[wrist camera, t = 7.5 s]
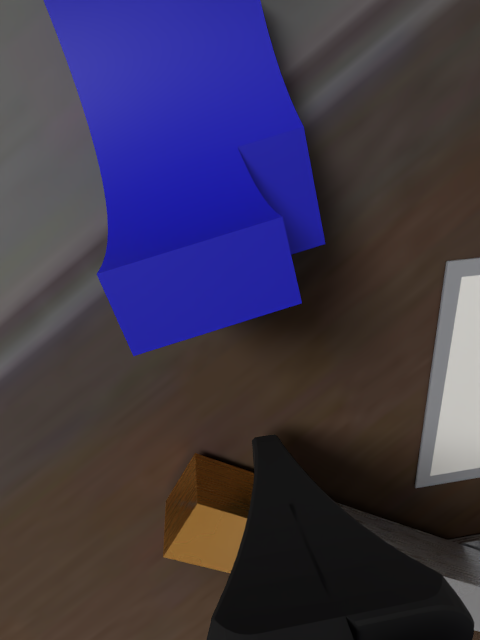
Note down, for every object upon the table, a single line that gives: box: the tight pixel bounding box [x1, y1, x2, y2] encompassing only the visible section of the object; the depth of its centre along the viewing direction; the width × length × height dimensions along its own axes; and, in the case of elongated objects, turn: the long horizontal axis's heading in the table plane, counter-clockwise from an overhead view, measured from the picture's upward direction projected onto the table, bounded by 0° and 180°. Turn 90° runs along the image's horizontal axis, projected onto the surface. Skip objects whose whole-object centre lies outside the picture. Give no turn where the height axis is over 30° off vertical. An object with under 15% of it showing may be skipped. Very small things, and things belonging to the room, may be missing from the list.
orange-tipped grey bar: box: [163, 453, 480, 632], centre depth 16 cm, size 20×4×2 cm, turn 61°
